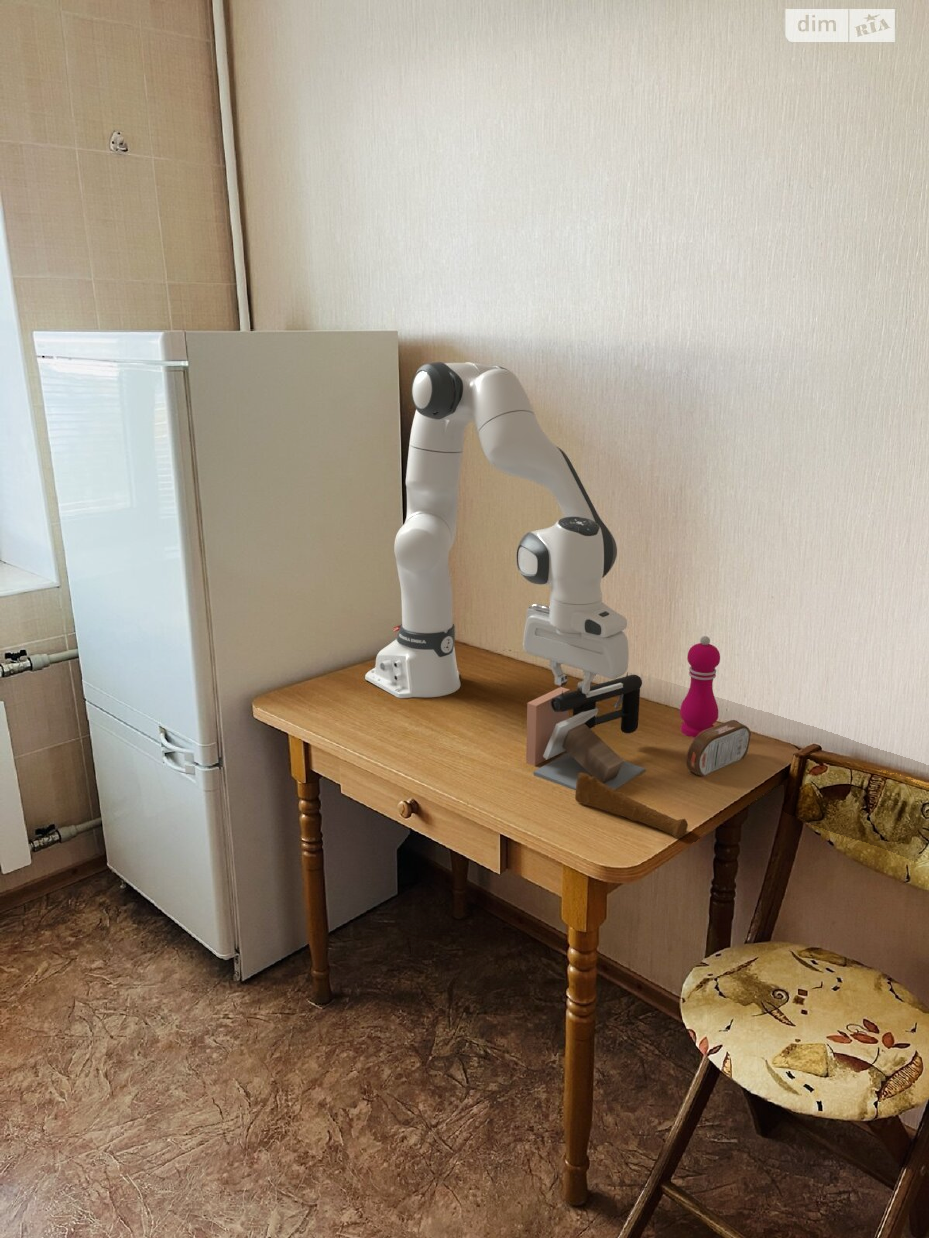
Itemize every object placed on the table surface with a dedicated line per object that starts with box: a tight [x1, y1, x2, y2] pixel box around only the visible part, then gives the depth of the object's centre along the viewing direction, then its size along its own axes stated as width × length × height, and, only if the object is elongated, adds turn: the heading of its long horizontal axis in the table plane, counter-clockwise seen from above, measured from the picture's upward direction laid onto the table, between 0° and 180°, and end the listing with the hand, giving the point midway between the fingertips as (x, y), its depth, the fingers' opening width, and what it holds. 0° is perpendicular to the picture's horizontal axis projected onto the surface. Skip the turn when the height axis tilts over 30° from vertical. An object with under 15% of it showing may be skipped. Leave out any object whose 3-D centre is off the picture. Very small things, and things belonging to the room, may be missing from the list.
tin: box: [685, 719, 752, 777], centre depth 164 cm, size 15×3×8 cm, turn 127°
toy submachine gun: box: [551, 672, 643, 735], centre depth 167 cm, size 3×20×16 cm, turn 124°
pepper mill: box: [679, 635, 721, 739], centre depth 176 cm, size 7×7×20 cm
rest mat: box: [533, 751, 646, 791], centre depth 163 cm, size 14×14×1 cm
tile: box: [525, 686, 571, 767], centre depth 168 cm, size 2×10×12 cm, turn 138°
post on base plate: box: [543, 707, 625, 784], centre depth 160 cm, size 8×10×11 cm
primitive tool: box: [574, 773, 689, 839], centre depth 146 cm, size 19×6×4 cm
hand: (572, 688), depth 162 cm, fingers open, 4 cm apart
